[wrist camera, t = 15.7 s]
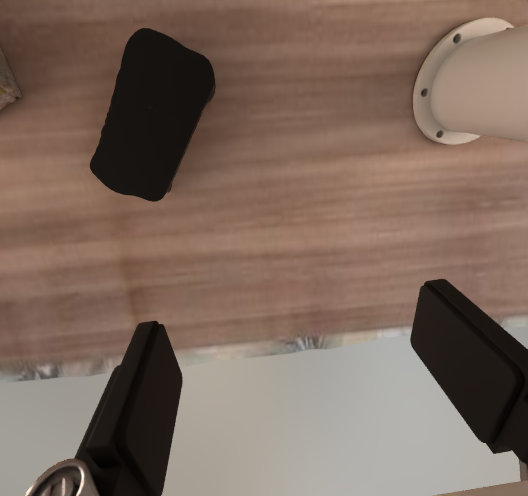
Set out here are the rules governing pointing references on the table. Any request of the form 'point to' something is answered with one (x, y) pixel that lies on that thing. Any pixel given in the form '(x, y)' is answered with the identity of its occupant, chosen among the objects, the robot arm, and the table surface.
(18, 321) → the table surface
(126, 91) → the black sponge
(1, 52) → the geological specimen
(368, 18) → the table surface
